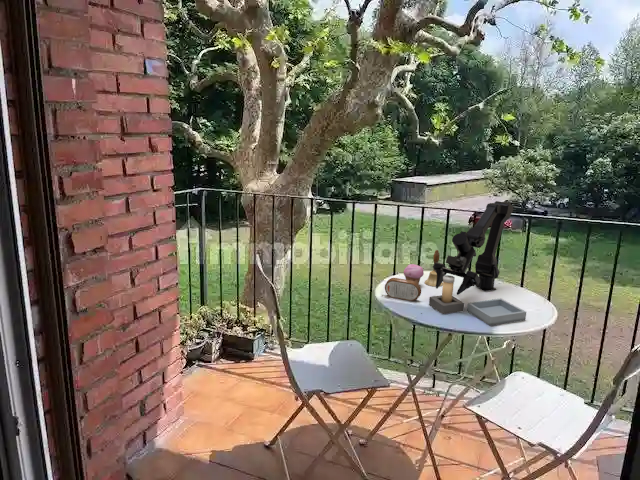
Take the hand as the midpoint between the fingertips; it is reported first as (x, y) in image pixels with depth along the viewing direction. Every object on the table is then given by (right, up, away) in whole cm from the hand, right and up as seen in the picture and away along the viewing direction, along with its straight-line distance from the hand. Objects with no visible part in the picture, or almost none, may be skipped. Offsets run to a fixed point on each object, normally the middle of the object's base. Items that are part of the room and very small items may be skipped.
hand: (446, 291), depth 182 cm
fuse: (0, -7, +2) cm, 7 cm away
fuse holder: (0, -7, +2) cm, 7 cm away
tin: (-16, -5, +11) cm, 20 cm away
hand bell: (+2, 0, +30) cm, 30 cm away
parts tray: (+18, -9, -4) cm, 20 cm away
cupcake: (-8, -1, +26) cm, 27 cm away
